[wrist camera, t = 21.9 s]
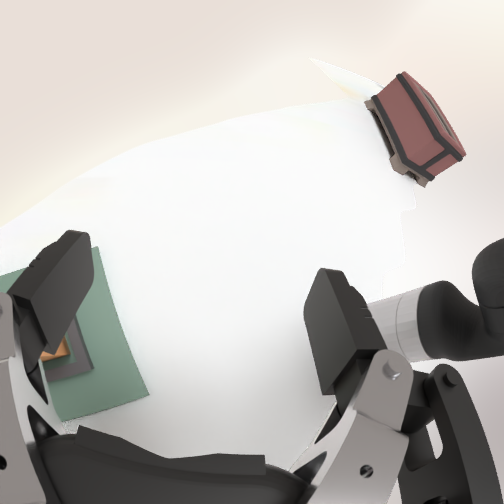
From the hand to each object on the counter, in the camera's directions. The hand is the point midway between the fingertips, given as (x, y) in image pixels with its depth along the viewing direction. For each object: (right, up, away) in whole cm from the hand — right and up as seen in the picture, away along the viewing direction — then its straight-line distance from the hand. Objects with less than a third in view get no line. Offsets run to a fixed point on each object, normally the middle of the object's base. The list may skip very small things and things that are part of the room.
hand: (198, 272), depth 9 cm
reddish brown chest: (+50, +39, +71) cm, 95 cm away
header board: (-21, -10, +15) cm, 27 cm away
